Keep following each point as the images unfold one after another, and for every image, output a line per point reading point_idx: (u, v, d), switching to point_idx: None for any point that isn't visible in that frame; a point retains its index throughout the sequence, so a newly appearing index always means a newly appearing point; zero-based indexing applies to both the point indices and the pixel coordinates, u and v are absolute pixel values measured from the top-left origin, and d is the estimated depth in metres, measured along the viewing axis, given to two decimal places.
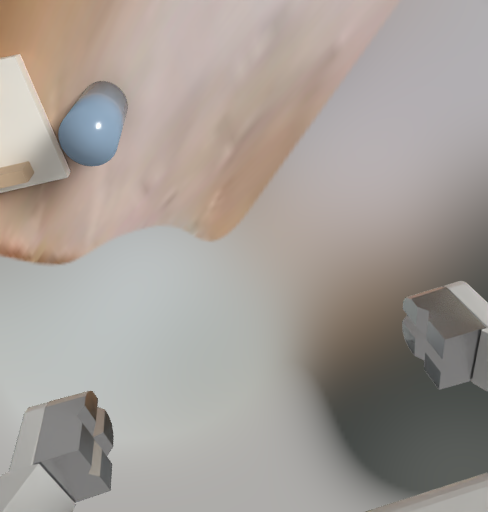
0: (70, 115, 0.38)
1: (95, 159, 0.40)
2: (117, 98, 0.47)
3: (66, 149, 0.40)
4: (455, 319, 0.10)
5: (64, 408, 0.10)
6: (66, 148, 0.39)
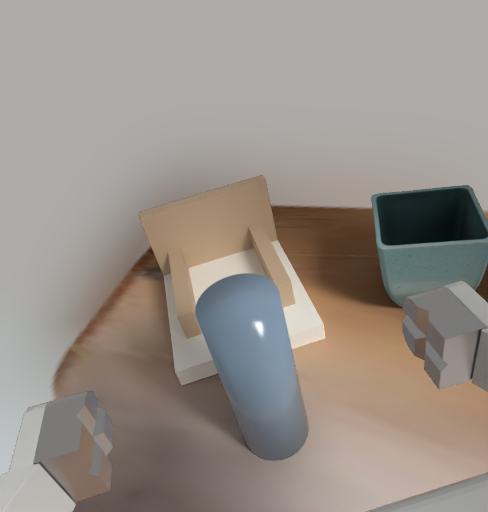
0: (270, 282, 0.26)
1: (204, 310, 0.26)
2: (290, 414, 0.29)
3: (222, 281, 0.27)
4: (455, 319, 0.10)
5: (64, 408, 0.10)
6: (224, 281, 0.27)
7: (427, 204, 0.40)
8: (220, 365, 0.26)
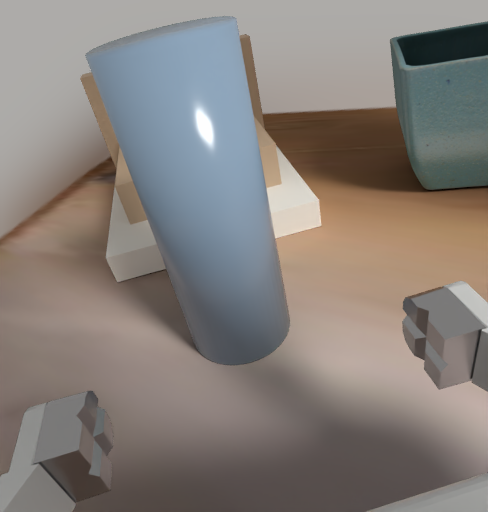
0: (224, 17, 0.15)
1: (103, 49, 0.14)
2: (256, 276, 0.18)
3: (146, 31, 0.16)
4: (455, 318, 0.10)
5: (64, 408, 0.10)
6: (149, 31, 0.16)
7: (467, 49, 0.29)
8: (131, 154, 0.15)
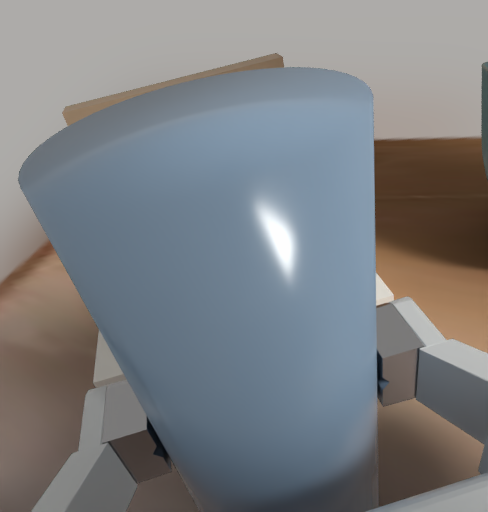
0: (324, 71, 0.07)
1: (63, 150, 0.06)
2: None
3: (156, 93, 0.08)
4: (395, 336, 0.09)
5: (126, 390, 0.10)
6: (162, 92, 0.08)
7: None
8: (127, 370, 0.07)
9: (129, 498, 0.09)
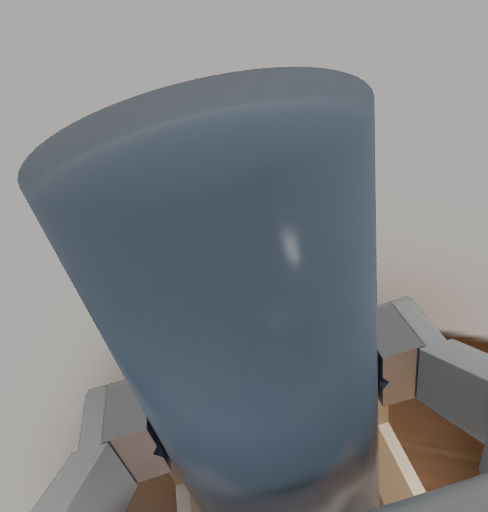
0: (325, 71, 0.07)
1: (63, 150, 0.06)
2: None
3: (156, 93, 0.08)
4: (395, 336, 0.09)
5: (126, 390, 0.10)
6: (162, 92, 0.08)
7: None
8: (127, 372, 0.07)
9: (129, 498, 0.09)
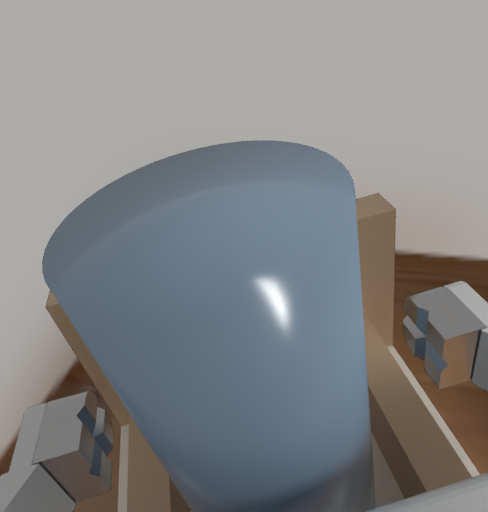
0: (314, 152, 0.08)
1: (80, 236, 0.07)
2: None
3: (160, 164, 0.09)
4: (455, 319, 0.10)
5: (64, 408, 0.10)
6: (167, 163, 0.09)
7: None
8: (140, 427, 0.08)
9: None
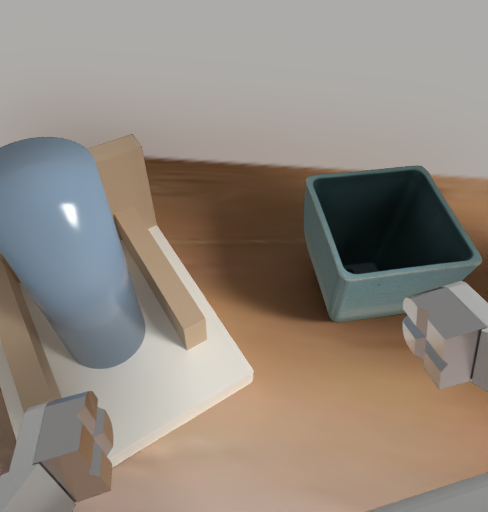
0: (81, 147, 0.19)
1: None
2: (123, 315, 0.24)
3: (5, 149, 0.19)
4: (455, 319, 0.10)
5: (64, 408, 0.10)
6: (8, 149, 0.19)
7: (371, 188, 0.30)
8: (19, 267, 0.19)
9: None
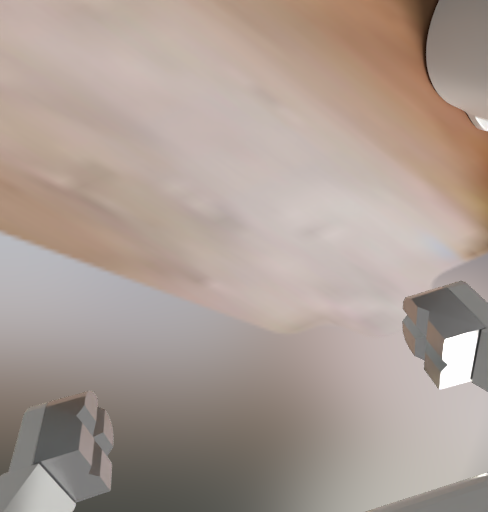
0: None
1: None
2: None
3: None
4: (455, 319, 0.10)
5: (64, 408, 0.10)
6: None
7: None
8: None
9: None
